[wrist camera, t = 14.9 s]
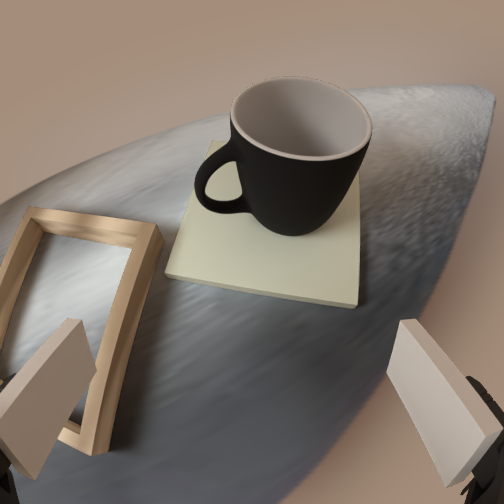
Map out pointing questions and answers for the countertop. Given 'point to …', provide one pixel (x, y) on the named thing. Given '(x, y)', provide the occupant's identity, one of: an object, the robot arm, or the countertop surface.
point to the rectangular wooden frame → (121, 315)
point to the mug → (290, 153)
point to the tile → (268, 249)
